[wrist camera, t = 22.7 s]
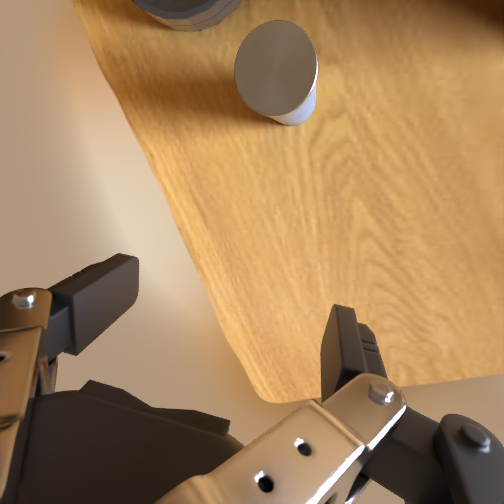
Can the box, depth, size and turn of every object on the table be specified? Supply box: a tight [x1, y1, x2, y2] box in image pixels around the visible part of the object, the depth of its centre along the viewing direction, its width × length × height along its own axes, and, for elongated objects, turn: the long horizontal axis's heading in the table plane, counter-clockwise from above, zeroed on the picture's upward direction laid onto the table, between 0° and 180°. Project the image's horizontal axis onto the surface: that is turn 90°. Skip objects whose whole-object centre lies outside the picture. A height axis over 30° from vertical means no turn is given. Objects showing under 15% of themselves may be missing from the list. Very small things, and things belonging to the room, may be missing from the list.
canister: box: [234, 20, 318, 126], centre depth 26 cm, size 5×5×16 cm
